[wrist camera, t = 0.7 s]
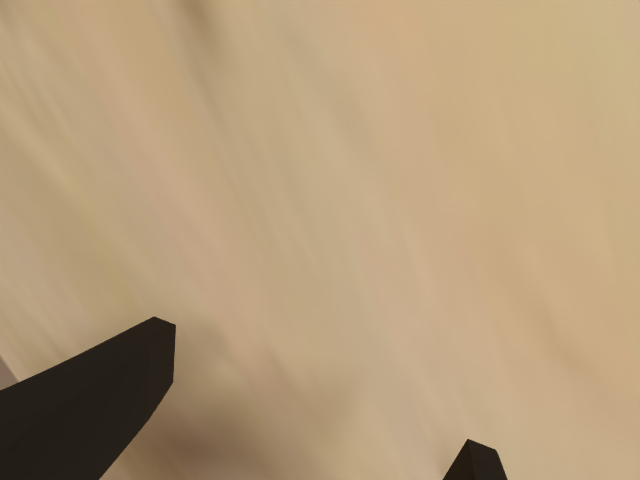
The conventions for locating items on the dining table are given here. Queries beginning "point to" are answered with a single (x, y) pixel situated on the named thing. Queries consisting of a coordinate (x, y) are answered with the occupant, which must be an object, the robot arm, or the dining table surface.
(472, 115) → the dining table surface
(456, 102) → the dining table surface
